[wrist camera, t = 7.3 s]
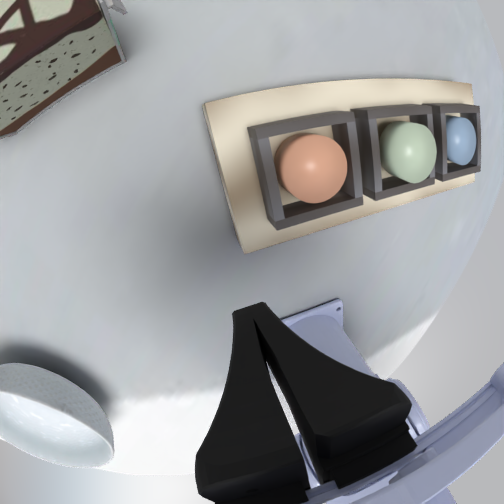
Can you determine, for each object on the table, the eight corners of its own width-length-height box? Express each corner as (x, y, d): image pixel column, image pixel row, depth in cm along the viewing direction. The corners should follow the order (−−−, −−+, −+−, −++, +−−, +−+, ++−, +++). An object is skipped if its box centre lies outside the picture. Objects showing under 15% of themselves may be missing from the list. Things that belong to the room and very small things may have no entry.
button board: (457, 175, 24) (488, 188, 20) (237, 239, 22) (251, 269, 18) (452, 82, 19) (487, 85, 15) (201, 104, 17) (208, 101, 13)
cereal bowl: (61, 432, 29) (56, 472, 22) (-26, 361, 20) (-44, 403, 14) (144, 410, 29) (146, 461, 23) (39, 316, 20) (15, 373, 14)
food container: (121, -14, 11) (87, -91, 2) (147, 51, 14) (117, -6, 5) (-18, 81, 11) (-106, 87, 2) (3, 145, 14) (-88, 182, 5)
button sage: (420, 171, 18) (436, 177, 17) (380, 181, 18) (396, 188, 16) (417, 118, 16) (435, 121, 15) (375, 123, 16) (392, 126, 14)
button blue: (461, 157, 20) (476, 162, 18) (435, 162, 19) (450, 168, 18) (460, 114, 18) (475, 117, 16) (433, 115, 17) (449, 118, 16)
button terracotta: (336, 186, 18) (350, 194, 17) (280, 201, 18) (290, 211, 16) (328, 127, 16) (342, 130, 15) (268, 139, 16) (277, 143, 14)
